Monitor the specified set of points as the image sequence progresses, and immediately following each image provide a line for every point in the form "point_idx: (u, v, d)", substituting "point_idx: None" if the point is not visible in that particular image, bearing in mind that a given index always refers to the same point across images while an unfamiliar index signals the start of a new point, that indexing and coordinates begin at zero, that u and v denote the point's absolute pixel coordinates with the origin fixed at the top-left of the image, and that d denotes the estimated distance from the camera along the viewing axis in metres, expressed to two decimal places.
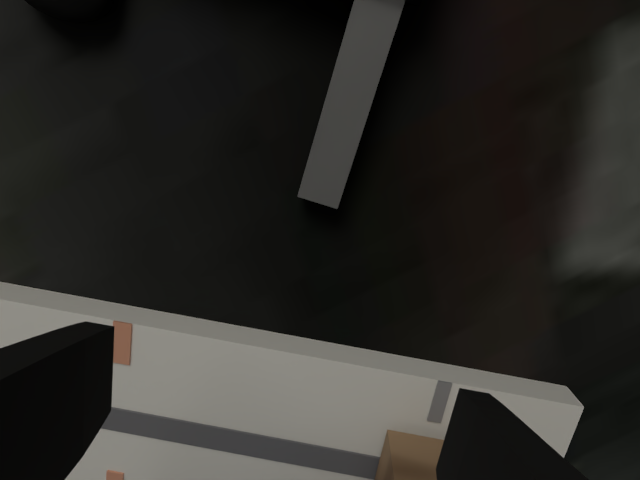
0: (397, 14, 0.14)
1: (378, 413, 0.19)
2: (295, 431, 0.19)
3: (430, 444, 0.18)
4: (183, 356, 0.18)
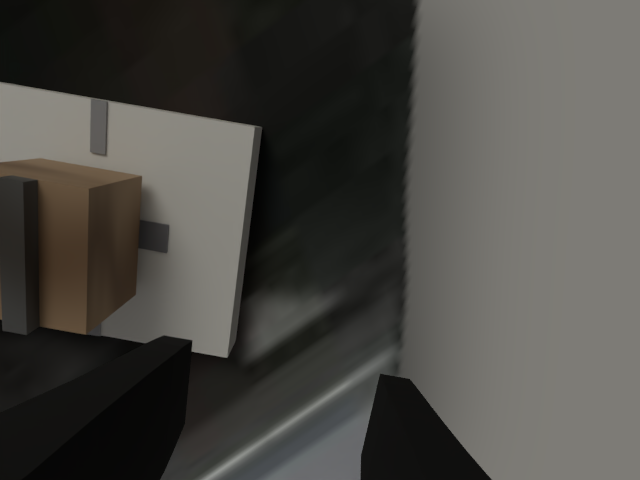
0: None
1: (38, 146, 0.17)
2: None
3: (78, 166, 0.16)
4: None
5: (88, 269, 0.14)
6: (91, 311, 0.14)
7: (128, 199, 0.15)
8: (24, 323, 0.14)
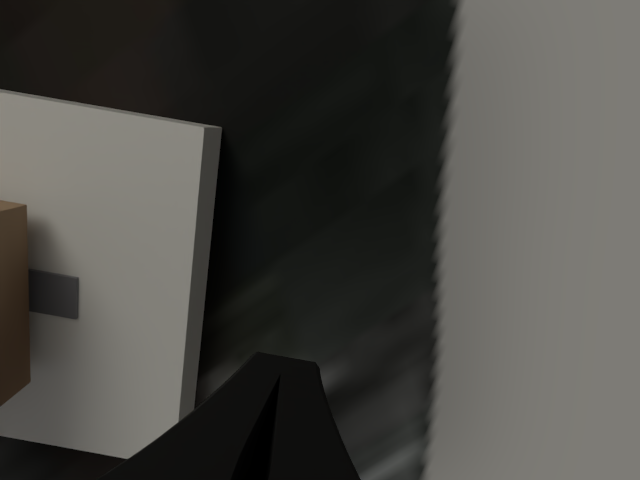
0: None
1: None
2: None
3: None
4: None
5: None
6: None
7: None
8: None
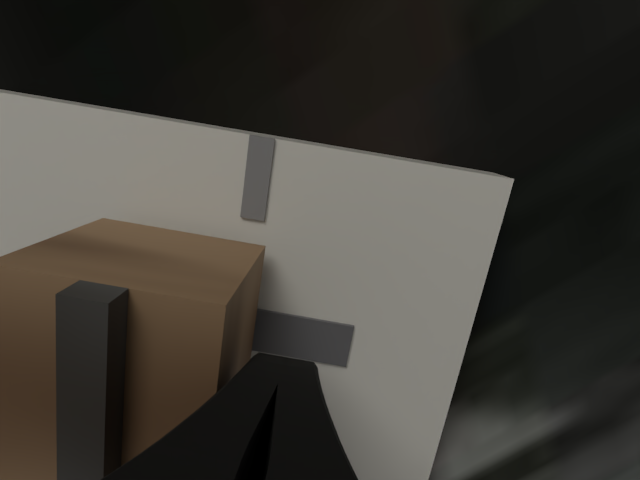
0: None
1: (157, 208, 0.11)
2: None
3: (168, 235, 0.10)
4: None
5: None
6: None
7: (253, 290, 0.09)
8: None
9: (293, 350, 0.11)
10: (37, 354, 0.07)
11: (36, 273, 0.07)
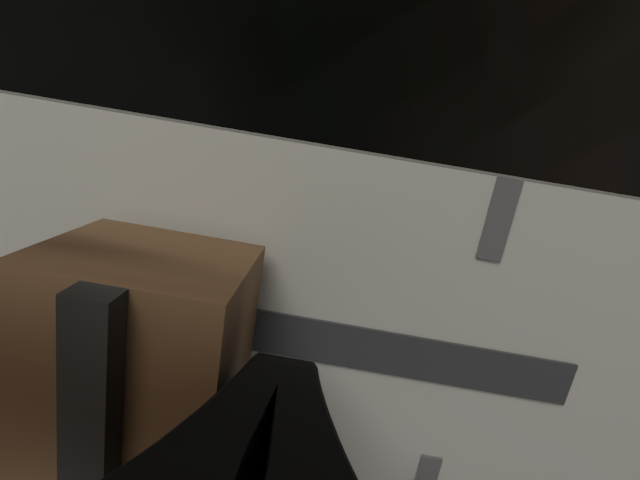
0: None
1: (389, 248, 0.11)
2: None
3: (168, 235, 0.10)
4: (42, 148, 0.10)
5: None
6: None
7: (253, 290, 0.09)
8: None
9: (511, 389, 0.11)
10: (37, 354, 0.07)
11: (36, 273, 0.07)
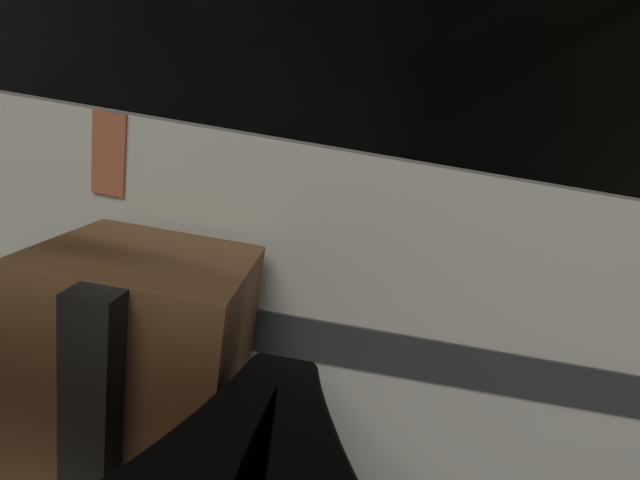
0: None
1: (565, 278, 0.10)
2: (412, 317, 0.11)
3: (168, 235, 0.10)
4: (218, 179, 0.10)
5: None
6: None
7: (253, 291, 0.09)
8: None
9: None
10: (37, 354, 0.07)
11: (36, 273, 0.07)
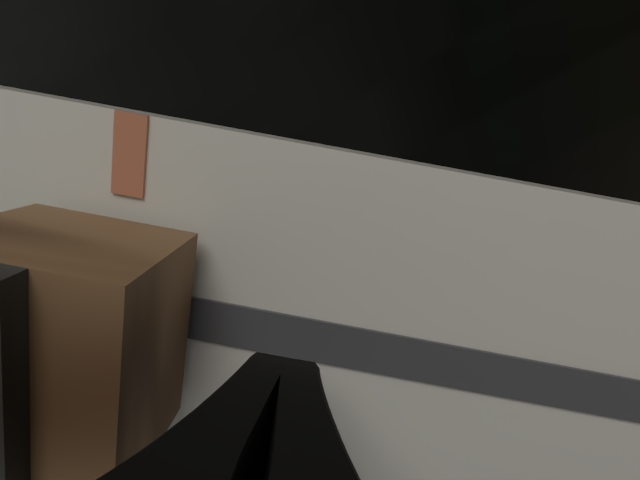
0: None
1: (584, 285, 0.10)
2: (430, 322, 0.11)
3: (98, 220, 0.10)
4: (239, 180, 0.10)
5: (119, 422, 0.08)
6: None
7: (180, 276, 0.09)
8: None
9: None
10: None
11: None
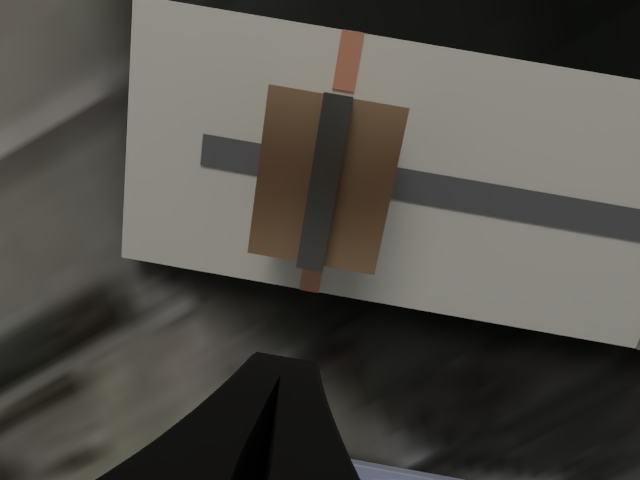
0: None
1: None
2: (546, 178, 0.16)
3: None
4: (421, 78, 0.15)
5: (389, 201, 0.12)
6: None
7: None
8: (322, 259, 0.12)
9: None
10: (291, 144, 0.12)
11: (299, 90, 0.12)
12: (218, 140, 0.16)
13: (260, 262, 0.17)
